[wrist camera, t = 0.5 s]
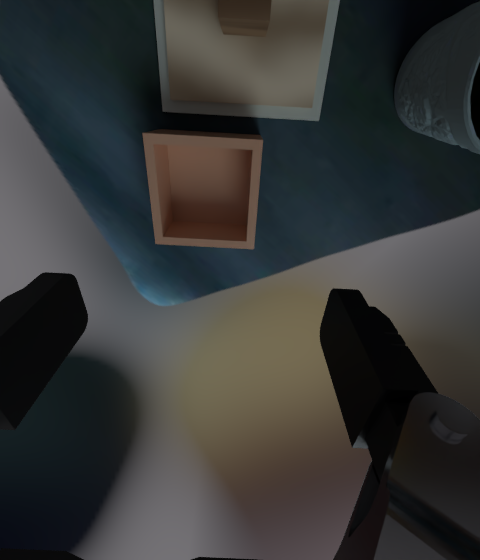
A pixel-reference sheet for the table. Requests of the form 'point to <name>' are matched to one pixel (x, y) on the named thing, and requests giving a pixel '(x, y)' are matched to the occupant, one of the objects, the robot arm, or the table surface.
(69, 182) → the table surface
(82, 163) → the table surface
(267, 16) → the lid
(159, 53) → the tray
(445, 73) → the grey cup
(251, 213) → the open square box
